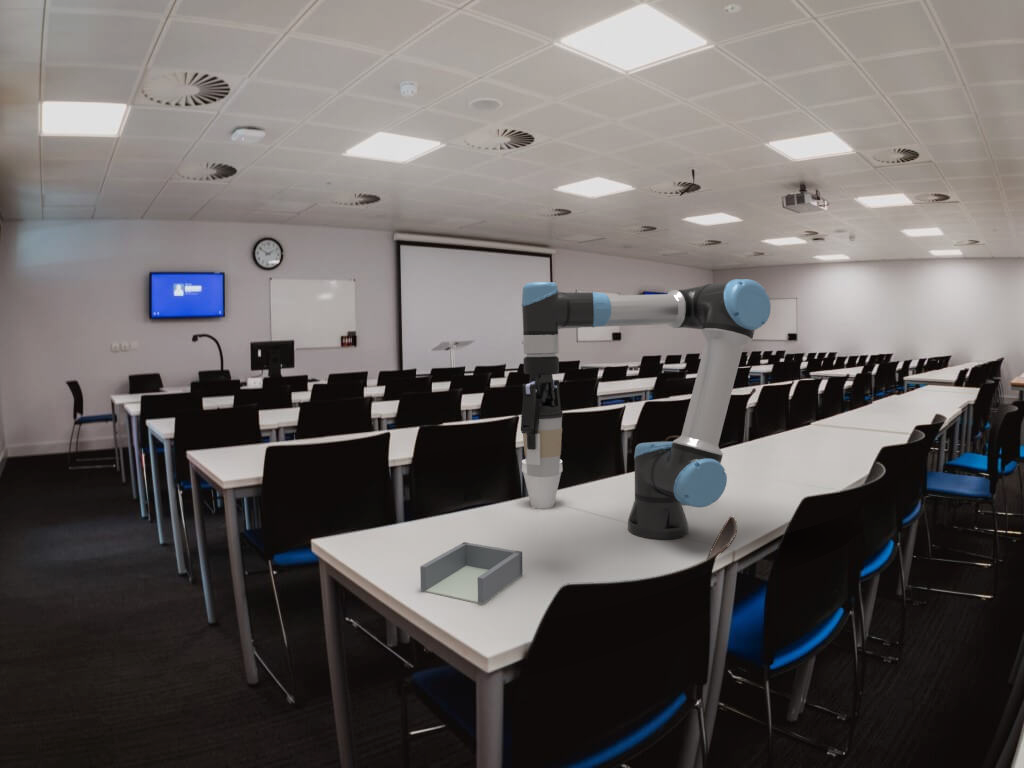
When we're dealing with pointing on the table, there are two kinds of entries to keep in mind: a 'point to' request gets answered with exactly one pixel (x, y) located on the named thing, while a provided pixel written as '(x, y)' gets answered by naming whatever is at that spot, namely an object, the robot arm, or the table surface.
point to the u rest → (471, 572)
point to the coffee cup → (547, 442)
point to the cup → (541, 488)
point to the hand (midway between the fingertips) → (543, 460)
